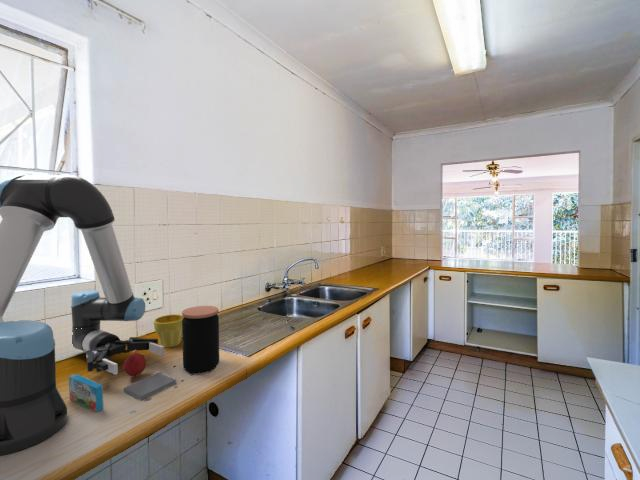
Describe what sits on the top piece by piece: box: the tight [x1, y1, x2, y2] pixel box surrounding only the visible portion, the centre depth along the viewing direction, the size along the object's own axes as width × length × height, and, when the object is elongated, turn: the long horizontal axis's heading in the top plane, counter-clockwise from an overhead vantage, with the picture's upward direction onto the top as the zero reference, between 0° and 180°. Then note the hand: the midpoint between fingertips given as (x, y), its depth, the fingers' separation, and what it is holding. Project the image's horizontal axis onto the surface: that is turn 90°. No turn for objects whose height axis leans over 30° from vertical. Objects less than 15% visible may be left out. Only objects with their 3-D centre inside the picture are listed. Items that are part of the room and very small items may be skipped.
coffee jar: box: [181, 305, 220, 375], centre depth 100 cm, size 11×11×18 cm
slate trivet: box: [123, 372, 177, 401], centre depth 88 cm, size 10×8×1 cm
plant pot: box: [153, 313, 184, 349], centre depth 118 cm, size 10×10×10 cm
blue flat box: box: [68, 373, 104, 413], centre depth 80 cm, size 12×2×6 cm, turn 63°
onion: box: [122, 350, 147, 378], centre depth 93 cm, size 6×6×8 cm
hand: (141, 359), depth 92 cm, fingers open, 13 cm apart
